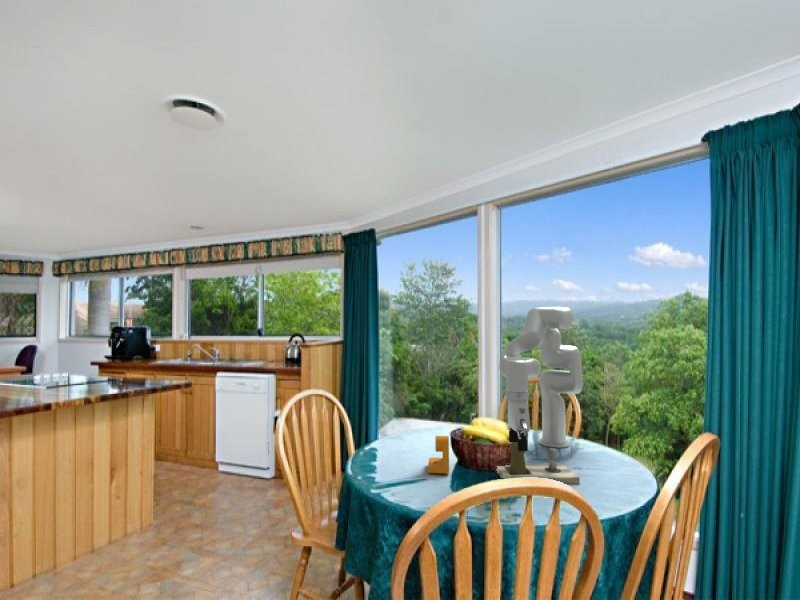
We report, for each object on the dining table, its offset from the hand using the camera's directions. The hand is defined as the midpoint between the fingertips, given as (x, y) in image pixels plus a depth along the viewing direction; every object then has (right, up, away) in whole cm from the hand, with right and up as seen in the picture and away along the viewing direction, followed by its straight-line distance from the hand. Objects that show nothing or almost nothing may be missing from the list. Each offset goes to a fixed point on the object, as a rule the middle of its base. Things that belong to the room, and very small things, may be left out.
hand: (518, 446), depth 146 cm
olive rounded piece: (0, -10, 0) cm, 10 cm away
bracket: (-27, -11, +6) cm, 29 cm away
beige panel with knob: (+6, -10, -1) cm, 12 cm away
